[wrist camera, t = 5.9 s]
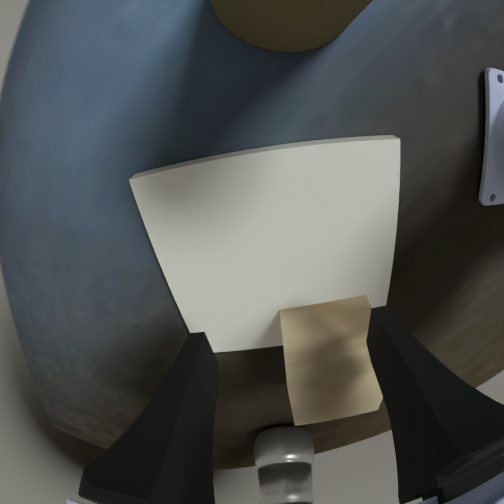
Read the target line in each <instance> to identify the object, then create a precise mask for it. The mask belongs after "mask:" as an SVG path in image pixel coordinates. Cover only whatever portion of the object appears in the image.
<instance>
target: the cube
mask: <svg viewBox="0 0 504 504" xmlns="http://www.w3.org/2000/svg"><path fill="white" fill-rule="evenodd" d="M370 315H371V305H370V303H369V301H368V298H367V296H366V295H362V296H357V297H352V298H346V299H341V300H335V301H330V302H324V303H318V304H312V305H306V306H300V307H294V308H287V309H281V310H280V319H281V329H282V338H283V348H284V358H285V369H286V379H287V388H288V393H289V398H290V403H291V408H292V413H293V418H294V424H295V426H298V425H305V424H311V423H318V422H324V421H329V420H335V419H340V418H345V417H350V416H354V415H359V414H363V413H367V412H371V411H375V410H378V409H379V406H380V404H381V401H382V398H383V395H382V392H381V390H380V387H379V384H378V381H377V378H376V375H375V373H374V370H373V367H372V364H371V360H370V356H369V352H368V347H367V343H366V339H367V333H368V327H369V321H370Z"/></svg>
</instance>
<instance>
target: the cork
mask: <svg viewBox="0 0 504 504" xmlns="http://www.w3.org/2000/svg"><path fill="white" fill-rule="evenodd" d="M371 1H372V0H210V3H211V5H212V7H213V9H214V11H215V14H216V16H217V18H218V20H219V21H220V22H221V23H222V24H223V25H224V26H225V27H226V28H227V29H228V30H229V31H230V32H231V33H232V34H233V35H234V36H236V37H238V38H240V39H242V40H243V41H245V42H247V43H249V44H250V45H252V46H255V47H259V48H263V49H267V50H270V51H274V52H302V51H306V50H311V49H315V48H319V47H321V46H323V45H325V44H326V43H328V42H330V41H332V40H334V39H335V38H337V37H338V36H339V35H340V34H341V33H342V32H343V31H344V30H345V28H346V27H347V26H348V25H349V24H350V23H351V22H352V21H353V20H354V19H355V18H356V17H357V16H358V15H359V14H360V13H361V12H362V11H363V10H364V8H365V7H366V6H367V5H368V4H369V3H370V2H371Z"/></svg>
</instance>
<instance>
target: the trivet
mask: <svg viewBox="0 0 504 504" xmlns="http://www.w3.org/2000/svg"><path fill="white" fill-rule="evenodd" d="M129 182H130V185H131V188H132V191H133V194H134V197H135V199H136V202H137V205H138V208H139V211H140V214H141V216H142V219H143V222H144V225H145V227H146V230H147V233H148V235H149V238H150V241H151V243H152V246H153V248H154V251H155V253H156V256H157V258H158V261H159V263H160V266H161V268H162V271H163V273H164V275H165V278H166V280H167V283H168V285H169V287H170V290H171V292H172V294H173V296H174V299H175V301H176V303H177V305H178V308H179V310H180V312H181V314H182V317H183V319H184V321H185V323H186V325H187V327H188V329H189V332H190V333H197V332H205V334H206V336H207V339H208V341H209V343H210V345H211V348H212V350H213V352H226V351H237V350H248V349H257V348H266V347H274V346H282V345H283V338H282V329H281V319H280V310H281V309H287V308H294V307H300V306H306V305H312V304H318V303H324V302H330V301H335V300H341V299H346V298H352V297H357V296H362V295H366V296H367V298H368V301H369V303H370V305H371V308H375V307H380V306H385V305H386V302H387V297H388V291H389V285H390V278H391V271H392V264H393V257H394V248H395V239H396V229H397V218H398V204H399V185H400V139H399V138H397V137H395V136H393V135H381V136H362V137H348V138H336V139H325V140H315V141H306V142H297V143H289V144H282V145H274V146H268V147H261V148H254V149H248V150H242V151H236V152H231V153H225V154H220V155H215V156H210V157H205V158H200V159H195V160H190V161H186V162H181V163H177V164H173V165H168V166H164V167H160V168H156V169H152V170H148V171H144V172H140V173H137V174H134V175H133V176H132V177H131V178H130V179H129Z"/></svg>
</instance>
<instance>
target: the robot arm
mask: <svg viewBox="0 0 504 504" xmlns="http://www.w3.org/2000/svg"><path fill="white" fill-rule="evenodd" d="M497 76H498V79H497ZM485 93H486V125H485V146H484V158H483V168H482V177H481V184H480V191H479V202H480V203H481V204H483V205H485V206H488V205H497V204H504V71H501V70H497V69H494V68H487V69H486V70H485ZM491 195H492V196H491ZM490 197H491V198H490ZM366 343H367V347H368V352H369V356H370V360H371V364H372V367H373V370H374V373H375V375H376V378H377V381H378V384H379V387H380V390H381V392H382V395H383V398H384V401H385V404H386V407H387V411H388V414H389V418H390V423H391V428H392V433H393V439H394V446H395V453H396V462H397V473H398V497H399V502H400V504H404V503H407V502H410V501H413V500H416V499H418V498H421V497H422V499H423V502H420V503H417V504H504V455H503V454H504V405H503V404H501V403H499V402H496V401H495V400H493V399H491V398H490V397H488V396H486V395H484V394H483V393H481V392H480V391H478V390H477V389H475V388H474V387H472V386H471V385H469V384H468V383H466V382H465V381H463V380H462V379H461V378H459V377H458V376H457V375H455V374H454V373H453V372H452V371H451V370H449V369H448V368H447V367H446V366H445V365H443V364H442V363H441V362H440V361H439V360H438V359H437V358H436V357H435V356H434V355H433V354H431V353H430V352H429V351H428V350H427V349H426V348H425V347H424V346H423V345H422V344H421V343H420V342H419V341H418V339H417V338H416V337H415V336H414V335H413V334H412V333H411V332H410V331H409V330H408V329H407V328H406V327H405V326H404V325H403V323H402V322H401V321H400V320H399V319H398V318H397V317H396V316H395V315H394V313H393V312H392V311H391V310H390V309H389V308H388V307H387V306H386V305H385V306H380V307H375V308H371V315H370V321H369V327H368V333H367V339H366ZM217 389H218V361H217V359H216V357H215V355H214V352H213V350H212V348H211V345H210V343H209V341H208V339H207V336H206V334H205V332H197V333H190V334H189V335H188V336H187V338H186V340H185V342H184V344H183V346H182V348H181V350H180V352H179V354H178V356H177V358H176V359H175V361H174V363H173V365H172V367H171V368H170V370H169V372H168V374H167V375H166V377H165V379H164V380H163V382H162V384H161V385H160V387H159V388H158V390H157V391H156V393H155V395H154V396H153V398H152V399H151V400H150V402H149V403H148V405H147V406H146V407H145V409H144V410H143V411H142V413H141V414H140V415H139V417H138V418H137V419H136V420H135V421H134V422H133V424H132V425H131V426H130V427H129V428H128V429H127V430H126V432H125V433H124V434H123V435H122V436H121V437H120V438H119V439H118V440H117V441H116V442H115V443H114V444H112V445H111V446H110V447H109V448H108V449H107V450H106V451H105V452H104V453H103V454H101V455H100V456H99V457H98V458H96V459H95V460H94V461H93V462H91V463H90V464H89V465H87V466H86V467H85V468H84V469H83V473H82V477H81V482H80V487H79V493H78V494H79V496H80V497H82V498H85V499H87V500H90V501H92V502H95V503H98V504H215V498H214V486H213V468H212V433H213V424H214V415H215V407H216V398H217ZM66 504H82V503H80V502H77V501H74V500H72V499H67V502H66Z"/></svg>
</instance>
